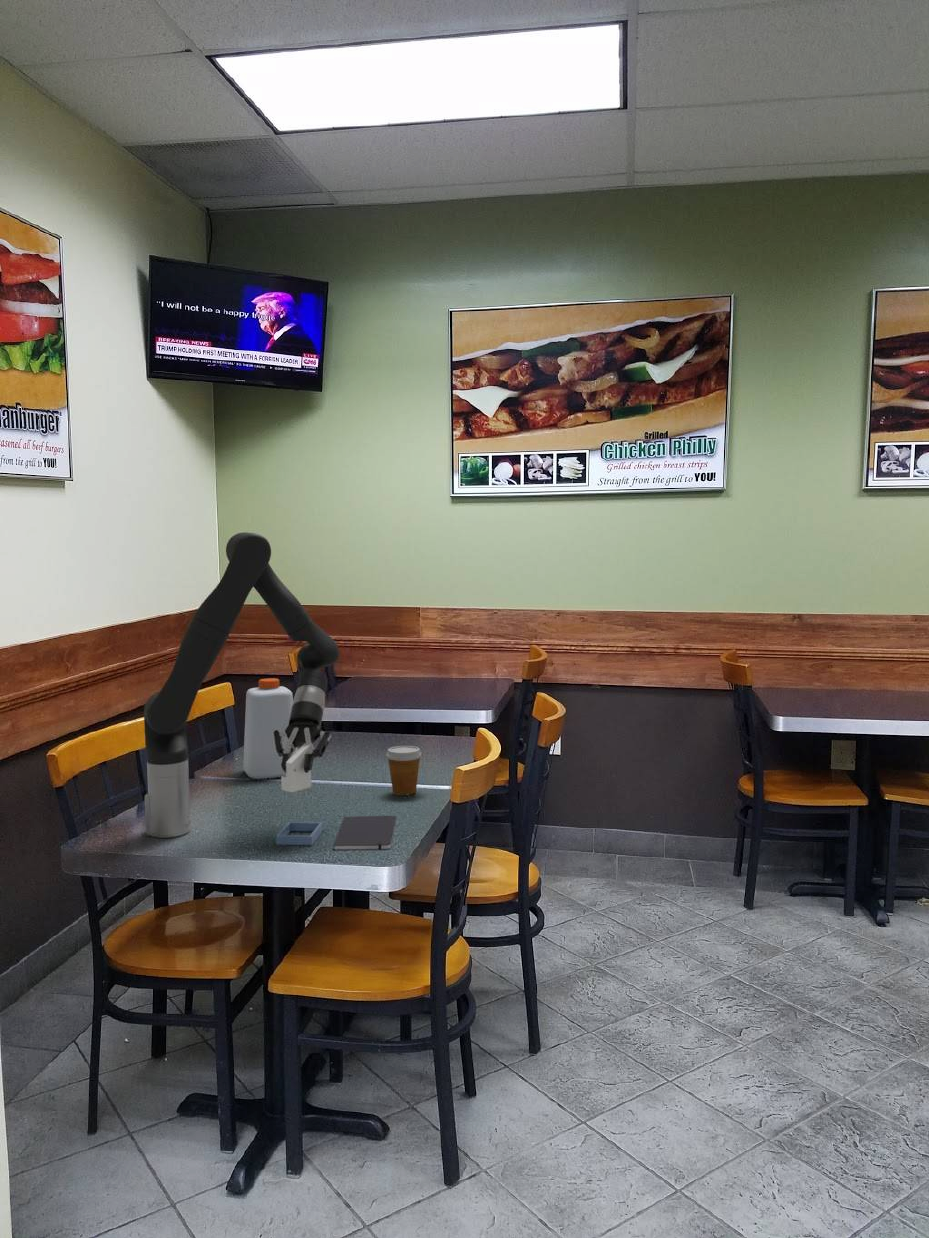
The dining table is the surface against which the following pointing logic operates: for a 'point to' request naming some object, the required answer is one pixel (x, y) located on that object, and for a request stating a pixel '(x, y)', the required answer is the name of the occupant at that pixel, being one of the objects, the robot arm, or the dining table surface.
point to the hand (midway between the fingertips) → (295, 770)
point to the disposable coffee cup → (404, 768)
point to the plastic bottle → (265, 728)
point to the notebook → (365, 832)
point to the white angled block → (296, 772)
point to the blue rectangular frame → (286, 839)
